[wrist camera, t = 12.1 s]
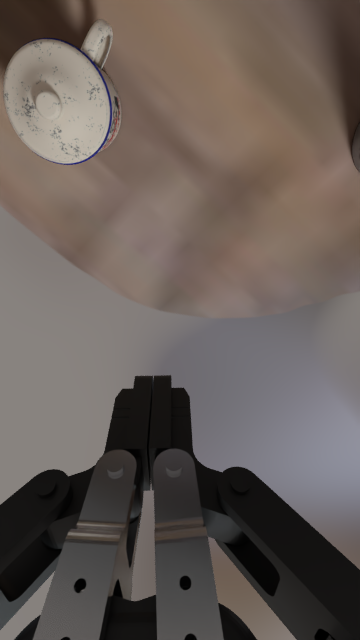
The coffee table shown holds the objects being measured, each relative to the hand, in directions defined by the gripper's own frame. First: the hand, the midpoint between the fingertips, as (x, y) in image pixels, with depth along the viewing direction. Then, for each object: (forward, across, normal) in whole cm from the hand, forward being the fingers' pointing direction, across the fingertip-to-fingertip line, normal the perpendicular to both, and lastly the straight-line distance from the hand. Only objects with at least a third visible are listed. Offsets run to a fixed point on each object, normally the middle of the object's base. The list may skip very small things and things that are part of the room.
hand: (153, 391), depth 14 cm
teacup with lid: (+32, +8, -12) cm, 35 cm away
